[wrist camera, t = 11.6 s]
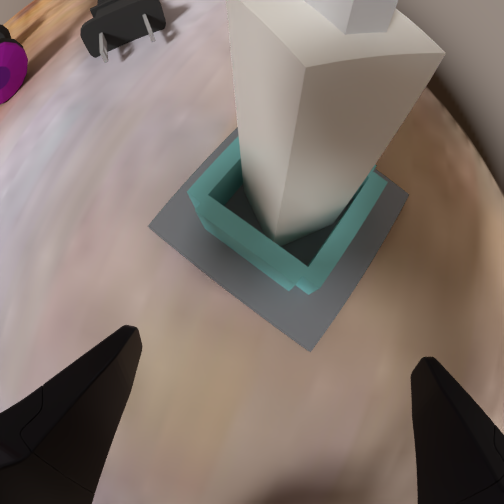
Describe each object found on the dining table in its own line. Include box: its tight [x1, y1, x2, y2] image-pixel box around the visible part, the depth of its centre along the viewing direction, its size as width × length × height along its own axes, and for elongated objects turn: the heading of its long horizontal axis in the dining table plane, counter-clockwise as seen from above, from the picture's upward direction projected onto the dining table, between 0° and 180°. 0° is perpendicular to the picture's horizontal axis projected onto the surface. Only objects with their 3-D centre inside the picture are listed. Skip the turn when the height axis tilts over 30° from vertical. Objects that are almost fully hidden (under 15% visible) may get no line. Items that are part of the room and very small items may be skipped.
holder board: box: [148, 127, 409, 352], centre depth 16 cm, size 12×12×4 cm
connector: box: [226, 0, 446, 247], centre depth 10 cm, size 4×4×14 cm
